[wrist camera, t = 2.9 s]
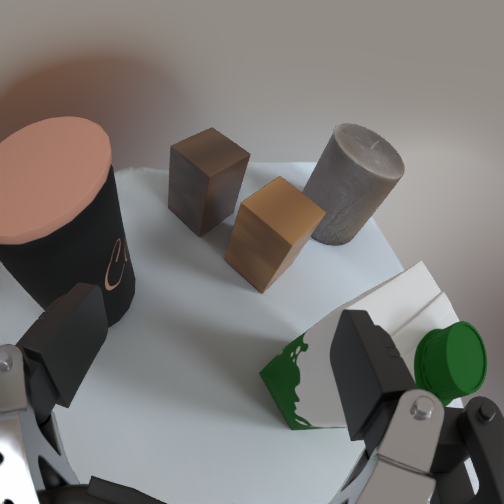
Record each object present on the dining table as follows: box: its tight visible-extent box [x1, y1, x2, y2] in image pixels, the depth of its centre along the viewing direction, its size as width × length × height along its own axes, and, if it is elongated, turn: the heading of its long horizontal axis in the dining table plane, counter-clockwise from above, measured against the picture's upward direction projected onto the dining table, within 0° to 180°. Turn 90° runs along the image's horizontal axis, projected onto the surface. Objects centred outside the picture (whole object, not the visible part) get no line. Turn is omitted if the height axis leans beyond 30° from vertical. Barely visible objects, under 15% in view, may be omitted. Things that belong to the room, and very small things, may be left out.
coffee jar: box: [0, 116, 135, 328], centre depth 21 cm, size 11×11×18 cm
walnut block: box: [168, 128, 250, 237], centre depth 33 cm, size 6×6×10 cm
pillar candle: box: [302, 124, 405, 245], centre depth 36 cm, size 10×10×15 cm
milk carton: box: [260, 261, 487, 430], centre depth 20 cm, size 9×9×20 cm
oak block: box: [224, 176, 326, 293], centre depth 31 cm, size 6×6×10 cm
